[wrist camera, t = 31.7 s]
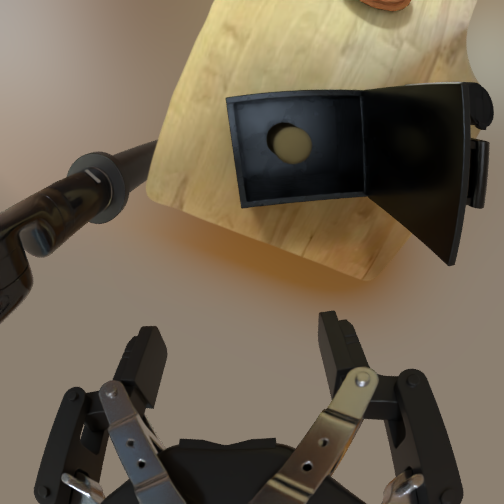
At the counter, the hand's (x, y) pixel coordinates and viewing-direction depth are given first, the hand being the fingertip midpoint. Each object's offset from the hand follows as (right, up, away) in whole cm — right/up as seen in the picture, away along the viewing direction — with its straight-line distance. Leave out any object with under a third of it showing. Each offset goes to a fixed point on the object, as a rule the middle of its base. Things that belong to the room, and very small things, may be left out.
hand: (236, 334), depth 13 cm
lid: (+16, +13, +11) cm, 23 cm away
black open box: (+7, +23, +31) cm, 39 cm away
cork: (+6, +23, +31) cm, 38 cm away
